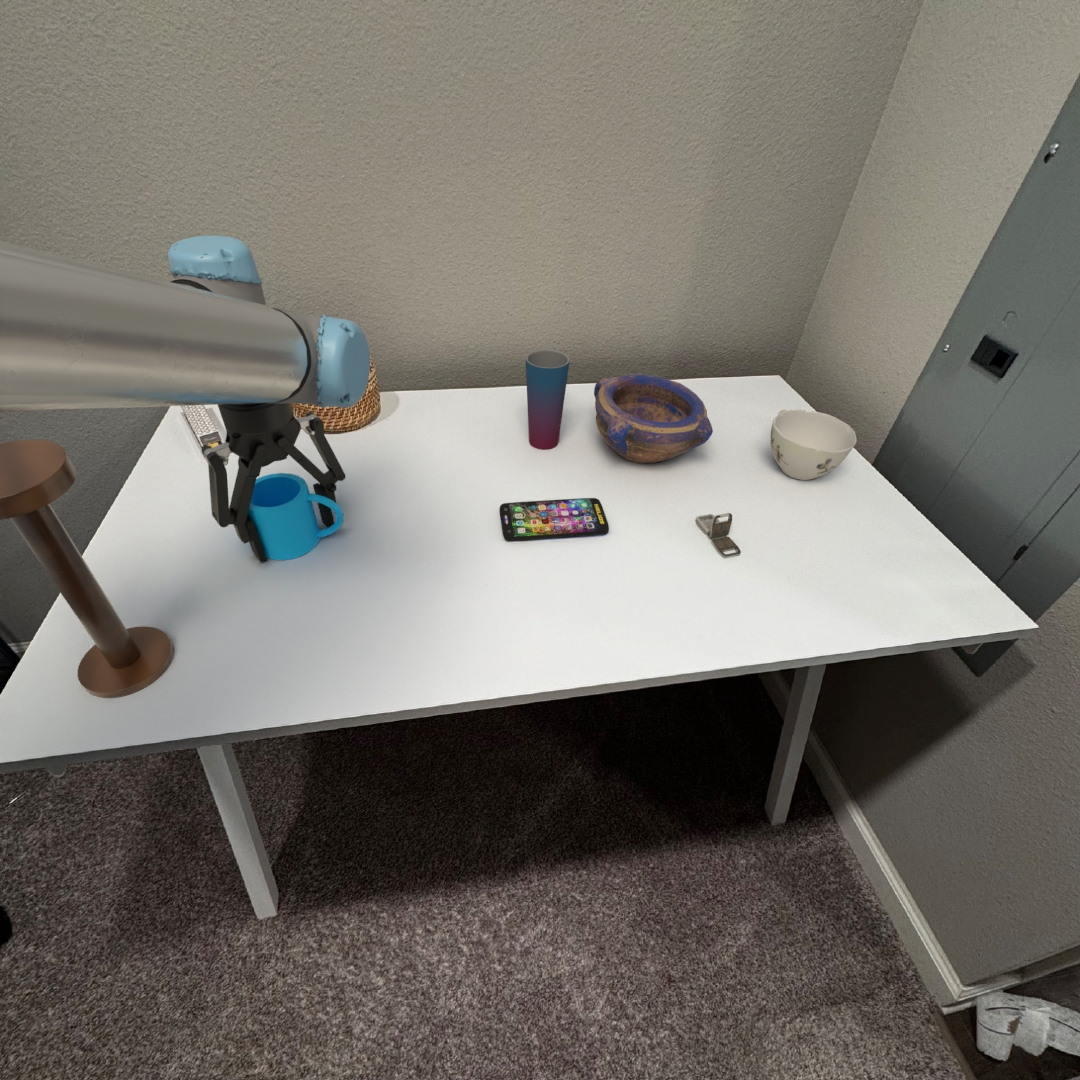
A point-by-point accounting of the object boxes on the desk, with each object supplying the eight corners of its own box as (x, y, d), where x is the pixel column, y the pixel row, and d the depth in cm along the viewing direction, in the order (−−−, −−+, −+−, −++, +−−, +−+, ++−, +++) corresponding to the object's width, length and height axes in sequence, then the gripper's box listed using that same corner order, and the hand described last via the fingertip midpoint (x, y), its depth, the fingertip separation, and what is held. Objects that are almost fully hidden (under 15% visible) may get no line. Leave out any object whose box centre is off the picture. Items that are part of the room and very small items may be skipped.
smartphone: (498, 502, 91) (599, 496, 93) (498, 507, 91) (598, 501, 93) (503, 537, 85) (611, 530, 87) (503, 543, 86) (610, 536, 87)
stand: (93, 713, 64) (-59, 517, 47) (72, 658, 69) (-72, 463, 52) (185, 668, 68) (77, 474, 51) (159, 619, 73) (53, 428, 56)
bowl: (709, 479, 99) (724, 424, 92) (597, 479, 98) (604, 424, 91) (684, 421, 112) (695, 369, 106) (585, 420, 111) (590, 368, 105)
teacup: (855, 488, 99) (875, 445, 93) (786, 498, 96) (802, 454, 91) (802, 438, 109) (817, 397, 104) (738, 445, 107) (750, 404, 101)
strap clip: (693, 520, 91) (699, 497, 88) (711, 517, 92) (717, 494, 89) (722, 559, 85) (730, 535, 82) (742, 555, 86) (750, 531, 83)
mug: (250, 561, 81) (231, 512, 76) (265, 521, 87) (249, 473, 82) (344, 557, 82) (332, 509, 77) (352, 518, 88) (342, 471, 83)
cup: (515, 439, 106) (516, 356, 96) (544, 426, 109) (548, 344, 99) (542, 457, 102) (546, 372, 92) (571, 443, 105) (578, 359, 96)
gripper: (326, 352, 77) (354, 496, 92) (134, 405, 66) (202, 560, 81) (356, 375, 73) (381, 522, 88) (156, 435, 62) (224, 592, 77)
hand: (295, 540), depth 84 cm, fingers closed on mug, 9 cm apart
